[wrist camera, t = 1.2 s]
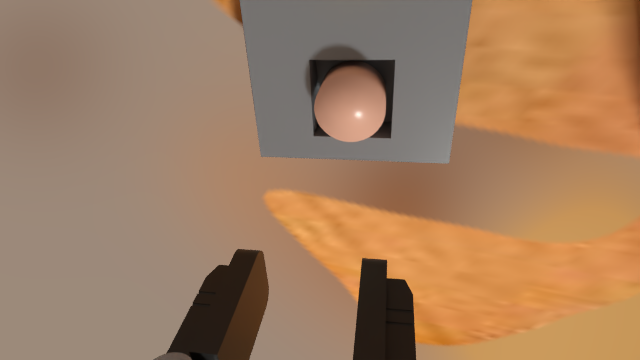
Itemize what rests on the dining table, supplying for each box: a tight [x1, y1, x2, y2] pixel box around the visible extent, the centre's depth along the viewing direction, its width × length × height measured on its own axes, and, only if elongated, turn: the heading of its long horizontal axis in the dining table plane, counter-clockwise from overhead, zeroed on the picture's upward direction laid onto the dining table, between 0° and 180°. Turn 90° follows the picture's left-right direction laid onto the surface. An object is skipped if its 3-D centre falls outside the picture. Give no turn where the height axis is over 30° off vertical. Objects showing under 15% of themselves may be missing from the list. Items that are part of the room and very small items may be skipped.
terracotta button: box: [314, 61, 386, 142], centre depth 24 cm, size 4×4×3 cm
